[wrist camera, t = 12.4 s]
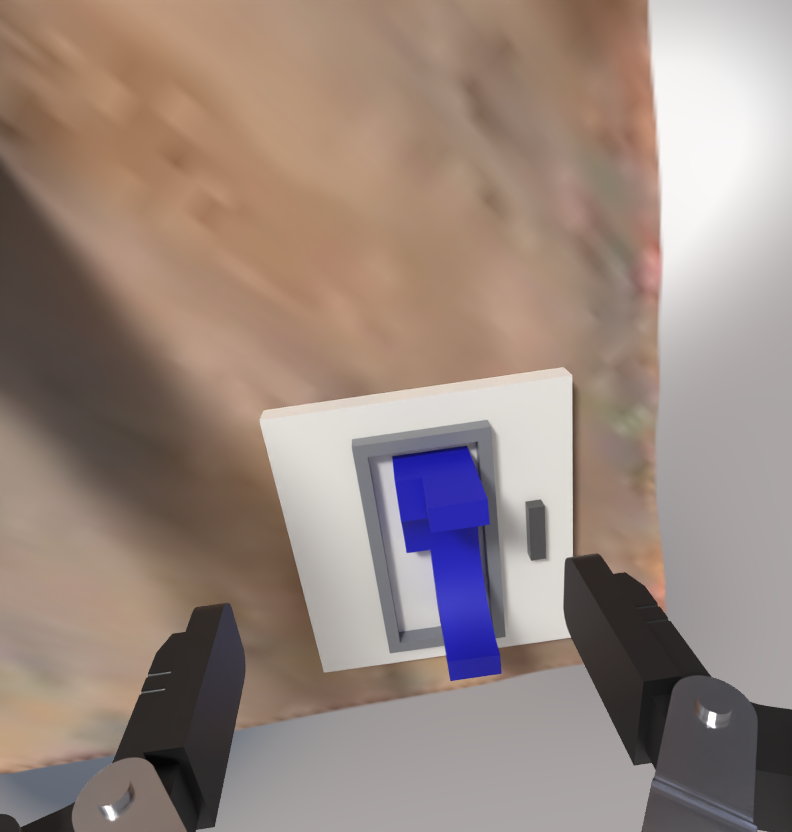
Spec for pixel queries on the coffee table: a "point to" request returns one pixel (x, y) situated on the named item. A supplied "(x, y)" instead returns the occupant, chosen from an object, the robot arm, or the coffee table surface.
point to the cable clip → (451, 550)
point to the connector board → (380, 518)
